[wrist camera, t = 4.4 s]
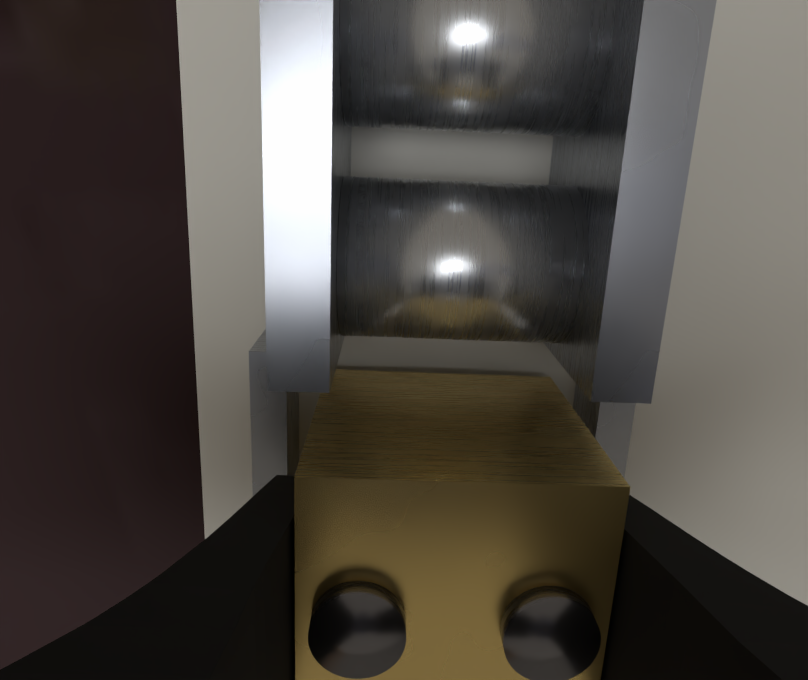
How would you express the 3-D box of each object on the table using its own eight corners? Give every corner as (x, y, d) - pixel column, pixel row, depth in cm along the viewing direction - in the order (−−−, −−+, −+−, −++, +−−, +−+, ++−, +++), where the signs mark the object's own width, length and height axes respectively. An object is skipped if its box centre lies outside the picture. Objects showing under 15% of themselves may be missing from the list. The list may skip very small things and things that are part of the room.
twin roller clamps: (665, -33, 10) (803, -128, 7) (548, 803, 15) (593, 993, 12) (258, -55, 10) (187, -164, 6) (274, 799, 15) (240, 989, 11)
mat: (1040, -25, 10) (1058, -30, 10) (801, 803, 15) (809, 815, 15) (178, -70, 10) (172, -77, 10) (222, 794, 15) (219, 806, 15)
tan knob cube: (529, 568, 12) (596, 770, 8) (325, 562, 12) (291, 765, 8) (549, 376, 11) (640, 500, 7) (327, 369, 11) (289, 490, 7)
